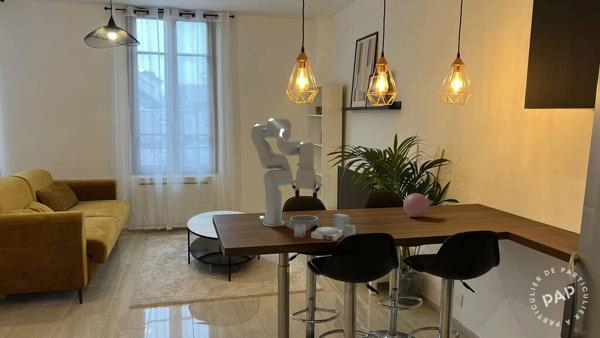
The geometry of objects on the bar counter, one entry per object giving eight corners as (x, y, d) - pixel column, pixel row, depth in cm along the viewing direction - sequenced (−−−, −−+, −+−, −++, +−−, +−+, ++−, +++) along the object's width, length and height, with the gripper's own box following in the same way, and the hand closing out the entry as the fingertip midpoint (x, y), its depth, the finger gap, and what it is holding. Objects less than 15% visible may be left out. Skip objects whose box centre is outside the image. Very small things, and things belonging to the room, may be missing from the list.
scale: (310, 238, 216) (310, 231, 216) (319, 232, 229) (319, 225, 229) (334, 241, 211) (335, 234, 211) (342, 234, 224) (343, 228, 224)
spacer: (344, 237, 219) (344, 225, 218) (346, 235, 223) (347, 224, 222) (352, 238, 217) (353, 226, 216) (355, 236, 221) (355, 224, 221)
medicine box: (349, 231, 232) (349, 215, 231) (344, 232, 229) (344, 216, 228) (338, 228, 238) (338, 213, 237) (333, 229, 234) (333, 214, 234)
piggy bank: (439, 219, 264) (440, 194, 263) (409, 220, 260) (410, 195, 258) (427, 214, 279) (428, 191, 277) (398, 215, 275) (399, 191, 273)
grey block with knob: (294, 237, 219) (294, 225, 218) (297, 234, 223) (297, 223, 222) (302, 238, 217) (302, 226, 216) (305, 235, 221) (305, 224, 220)
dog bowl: (282, 226, 242) (282, 217, 242) (306, 222, 254) (306, 213, 253) (301, 232, 229) (301, 222, 229) (326, 227, 241) (326, 218, 240)
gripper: (287, 165, 217) (287, 198, 219) (319, 167, 210) (318, 201, 212) (294, 164, 224) (294, 196, 226) (324, 166, 217) (324, 199, 218)
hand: (305, 199), depth 219 cm, fingers open, 9 cm apart
